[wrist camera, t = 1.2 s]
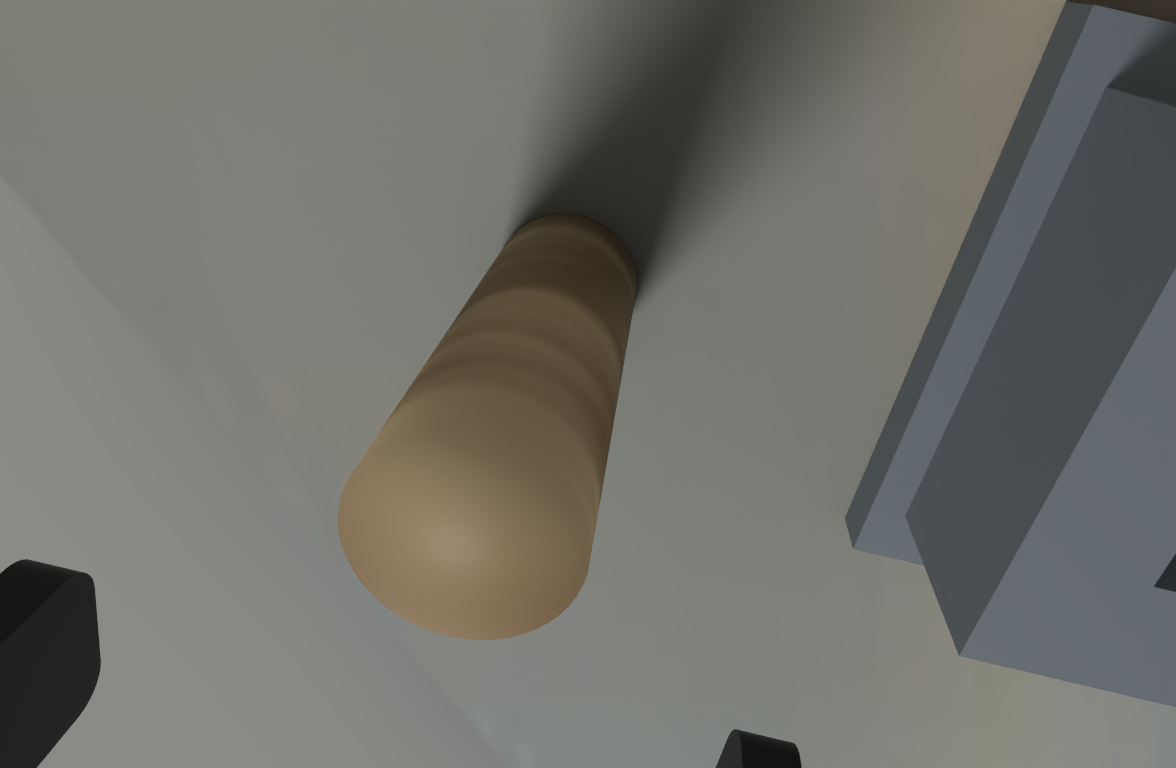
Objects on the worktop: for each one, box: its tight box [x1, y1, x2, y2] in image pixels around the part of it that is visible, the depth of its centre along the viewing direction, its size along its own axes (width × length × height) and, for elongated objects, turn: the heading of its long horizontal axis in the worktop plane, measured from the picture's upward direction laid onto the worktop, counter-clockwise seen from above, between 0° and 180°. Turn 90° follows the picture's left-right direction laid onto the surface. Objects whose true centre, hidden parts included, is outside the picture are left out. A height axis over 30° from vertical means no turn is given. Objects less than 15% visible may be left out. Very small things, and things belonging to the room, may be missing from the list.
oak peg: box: [338, 214, 637, 640], centre depth 18 cm, size 4×4×12 cm
